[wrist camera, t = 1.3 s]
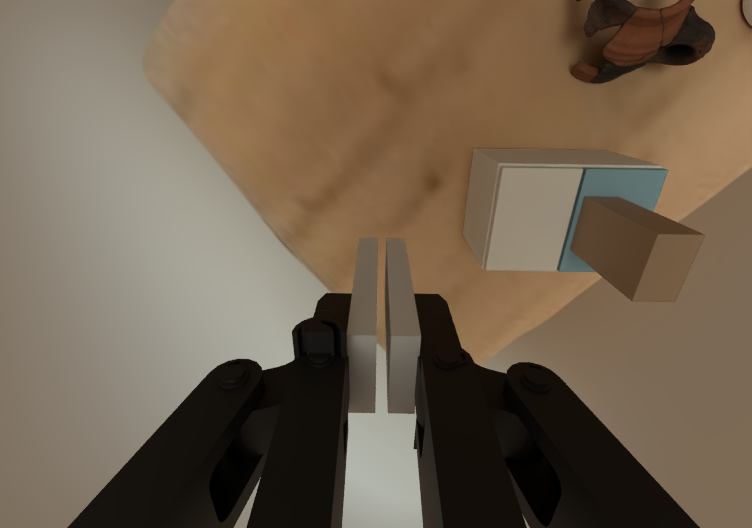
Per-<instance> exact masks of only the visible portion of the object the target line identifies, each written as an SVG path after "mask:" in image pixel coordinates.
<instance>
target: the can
mask: <svg viewBox="0 0 752 528" xmlns="http://www.w3.org/2000/svg"><path fill="white" fill-rule="evenodd" d="M742 10H743V14H744V16H745V18H746V20H747V22H748V23H749V24H750V25H751V26H752V0H743V1H742Z"/></svg>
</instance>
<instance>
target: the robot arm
mask: <svg viewBox="0 0 752 528" xmlns="http://www.w3.org/2000/svg"><path fill="white" fill-rule="evenodd" d="M377 252H378V238H359V245H358V253H357V260H356V268H355V275H354V283H353V290H352V294H344V293H326V294H325V295H324V296H323V297H322V298H321V299H320V300H319V301H318V303H317V306H316V310H315V313H314V316H313V318H310V319H307V320H304V321H302V322H300V323H299V324H298V325H296V326H295V328H294V329H293V331H292V336H293V346H294V355H295V359H294V360H293V361H292V362H290V363H288V364H286V365H283V366H280V367H276V368H271V369H267V370H262V368H261V366H260V365H259V364H258V363H257V362H255V361H252V360H250V359H236V360H231V361H227V362H225V363H223V364H221V365H219V366H217V367H216V368H215V369H213V370H212V371H211V372H210V373H209V374H208V375H207V376H206V377H205V378H204V379H203V380H202V381H201V382H200V384H199V385H198V386H197V387H196V388H195V389H194V390H193V391H192V392H191V393H190V395H189V396H188V397H187V398H186V399H185V400H184V401H183V402H182V403H181V404H180V406H178V408H177V409H176V410H175V411H174V412H173V413H172V414H171V415H170V416H169V417H168V418H167V420H166V421H165V422H164V423H163V424H162V425H161V426H160V427H159V428H158V429H157V430H156V432H155V433H154V434H153V435H152V436H151V437H150V438H149V439H148V440H147V441H146V443H145V444H144V445H143V446H142V447H141V448H140V449H139V450H138V451H137V452H136V453H135V454H134V456H133V457H132V458H131V459H130V460H129V461H128V463H126V464H125V465H124V466H123V468H122V469H121V470H120V471H119V472H118V473H117V474H116V475H115V476H114V478H112V480H111V481H110V482H109V483H108V484H107V485H106V486H105V487H104V488H103V489H102V490H101V492H100V493H99V494H98V495H97V496H96V497H95V498H94V499H93V500H92V501H91V503H90V504H89V505H88V506H87V507H86V508H85V509H84V510H83V511H82V512H81V513H80V514H79V516H78V517H77V518H76V519H75V520H74V521H73V522H72V523H71V524H70V525H69V526H68V528H233V527H234V526H235V524H236V522H237V520H238V518H239V516H240V514H241V513H242V511H243V509H244V507H245V505H246V503H247V501H248V500H249V498H250V496H251V494H252V492H253V490H254V488H255V487H256V485H257V483H258V481H259V479H260V477H261V479H260V482H259V486H258V489H257V493H256V497H255V500H254V503H253V507H252V510H251V514H250V518H249V521H248V525H247V528H342V516H343V500H344V485H345V470H346V455H347V439H348V409H349V413H375V394H376V344H377ZM385 326H386V360H387V362H386V363H387V397H388V399H387V400H388V413H408V414H414V413H415V406H416V414H417V419H416V429H415V440H414V449H417V456H418V468H419V480H420V491H421V505H422V516H423V528H527V527H526V524H525V521H524V518H525V519H526V521H527V523H528V525H529V527H530V528H700V527H699V526H698V525H697V524H696V523H695V522H694V521H693V520H692V519H691V518H690V517H689V516H688V514H687V513H686V512H685V511H684V510H683V509H682V508H681V507H680V506H679V505H678V504H677V503H676V502H675V501H674V500H673V498H672V497H671V496H670V495H669V494H668V493H667V492H666V491H665V490H664V489H663V488H662V487H661V486H660V484H659V483H658V482H657V481H656V480H655V479H654V478H653V477H652V476H651V475H650V474H649V473H648V472H647V470H645V468H644V467H643V466H642V465H641V464H640V463H639V462H638V461H637V460H636V459H635V458H634V457H633V456H632V454H631V453H630V452H629V451H628V450H627V449H626V448H625V447H624V446H623V445H622V444H621V443H620V441H619V440H618V439H617V438H616V437H615V436H614V435H613V434H612V433H611V432H610V431H609V430H608V429H607V427H606V426H605V425H604V424H603V423H602V422H601V421H600V420H599V419H598V418H597V417H596V416H595V415H594V414H593V412H592V411H590V409H589V408H588V407H587V406H586V405H585V404H584V403H583V402H582V401H581V400H580V399H579V398H578V396H577V395H576V394H575V393H574V392H573V391H572V390H571V389H570V388H569V387H568V386H567V385H566V383H565V382H564V381H563V380H562V379H561V378H560V377H559V376H557V375H556V374H555V373H554V372H553V371H551V370H550V369H548V368H546V367H544V366H541V365H538V364H534V363H530V362H519V363H517V364H514V365H512V366H511V367H510V368H509V369H508V370H507V374H505V373H502V372H498V371H494V370H490V369H486V368H484V367H481V366H479V365H477V364H475V363H474V361H473V359H472V357H471V356H470V354H469V353H468V352H466V351H465V350H464V349H462V348H461V345H460V341H459V338H458V335H457V332H456V329H455V326H454V323H453V321H452V316H451V313H450V310H449V307H448V304H447V302H446V301H445V300H444V299H443V298H442V297H441V296H440V295H439V294H414V292H413V286H412V280H411V274H410V268H409V262H408V256H407V251H406V245H405V239H403V238H386V266H385ZM522 514H523V515H522ZM523 516H524V518H523Z"/></svg>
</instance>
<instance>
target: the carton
mask: <svg viewBox="0 0 752 528" xmlns="http://www.w3.org/2000/svg"><path fill="white" fill-rule="evenodd" d="M582 167H604V168H662V167H663V166H662V165H658V164H654V163H651V162H647V161H643V160H639V159H636V158H632V157H628V156H624V155H620V154H617V153H613V152H609V151H605V150H576V149H510V148H473V156H472V164H471V171H470V179H469V187H468V195H467V202H466V210H465V218H464V226H463V233H462V235H463V236H464V238H465V240H466V241H467V243H468V245H469V247H470V248H471V250H472V252H473V254H474V255H475V257H476V259H477V260H478V262H479V264H480V266H481V267H482V268H485V270H499V271H556V270H557V266H558V262H559V258H560V255H561V251H562V247H563V243H564V240H565V236H566V232H567V228H568V225H569V221H570V217H571V213H572V210H573V206H574V202H575V198H576V195H577V191H578V187H579V183H580V180H581V176H582V172H583V169H582Z"/></svg>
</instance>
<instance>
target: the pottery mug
mask: <svg viewBox="0 0 752 528" xmlns="http://www.w3.org/2000/svg"><path fill="white" fill-rule="evenodd" d="M576 1H580V0H576ZM693 1H694V0H680V1H678V2H677V3H675V4H673V5H671V6H669V7H665V8H661V9H647V8H641V7H636V6H635V5H633V4H632V3H630V2H629V1H627V0H595V1H594V2H593V3H592V4H591V7H590V9H589V11H588V16H587V20H586V22H585V24H584V31H585V34H586V36H587V37H589V38H590V37H592V36H593V35H594V34H595V33H596V32H597V31H598V30H603V29H606V28H609V27H612V26H618V25H622V26H621V27H620V29H619V30H618V32H617V33H616V34H615V36H614V37H613V38H612V39H611V40H610V41H609V42H608V43H607V44H606V45H605V47H604V50H603V56H604V57H605V58H606V59H607V61H606V62H605V64H604V66H603V67H602V68H600V69H599V68H596V67H593V66H591V65H589V64H587V63H585V62H584V61H579V62H578V63H577V65H576V66H575V68H574V69H573V70H572V71H571V74H572V75H573V76H575V77H576V78H578V79H580V80H582V81H586V82H591V83H604V82H608V81H611V80H614V79H616V78H618V77H619V76H621V75H623V74H625V73H628V72H631V71H633V70H635V69H637V68H639V67H642V66H644V65H645V64H646V63H651V62H655V63H663V64H667V65H676V66H677V65H688V64H691V63H694V62H696V61H697V60H699V59H700V58H703V57H704V55H705V54H706V53H708V52H709V51H710V49H711V47H712V44H713V43H714V41H715V31H714V29H713V27H712V26H711V25H710V24H709V23H708V22H706V21H704V20H703V19H702V18H700V17H699V16H698V15H697V14H696V11H695V8H694V7H693V6H691V4H692V2H693Z"/></svg>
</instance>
